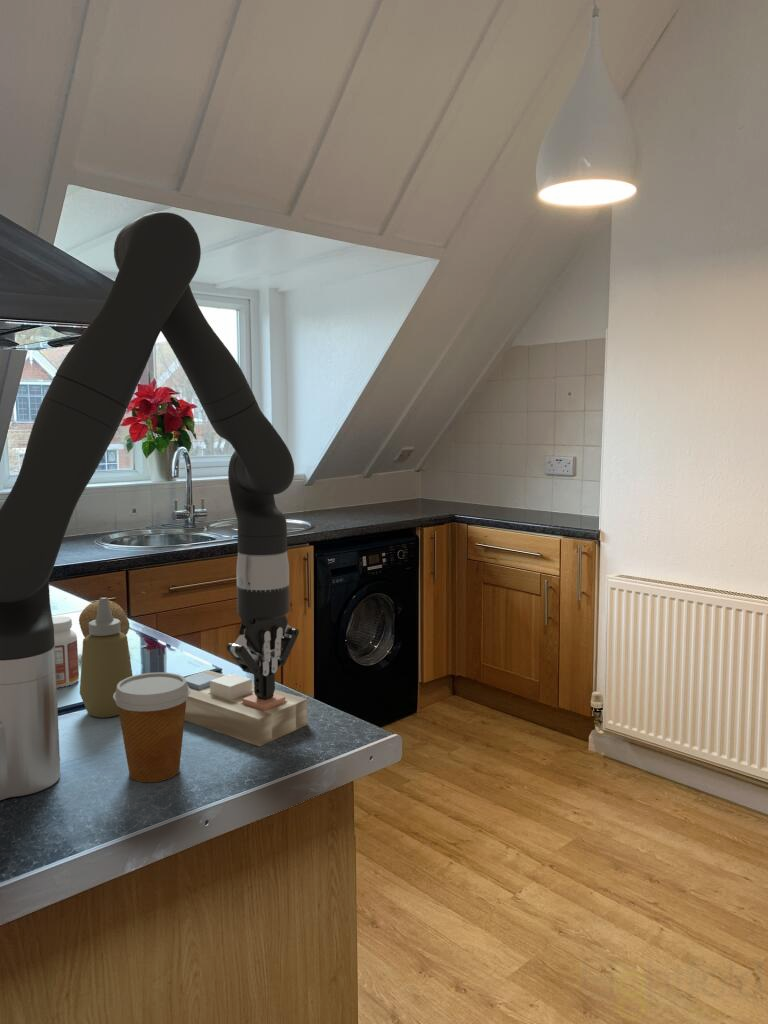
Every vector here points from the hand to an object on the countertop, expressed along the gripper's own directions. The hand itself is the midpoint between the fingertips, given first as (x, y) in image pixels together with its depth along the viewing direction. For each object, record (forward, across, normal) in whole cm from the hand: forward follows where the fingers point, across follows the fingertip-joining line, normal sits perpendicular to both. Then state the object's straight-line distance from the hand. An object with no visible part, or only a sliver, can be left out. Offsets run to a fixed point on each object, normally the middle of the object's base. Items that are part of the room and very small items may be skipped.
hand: (264, 697), depth 122 cm
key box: (+5, 0, +7) cm, 9 cm away
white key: (+2, 0, +7) cm, 7 cm away
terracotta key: (+3, 0, 0) cm, 3 cm away
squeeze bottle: (+5, -10, +24) cm, 27 cm away
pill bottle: (+5, -7, +42) cm, 43 cm away
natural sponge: (+5, +9, +52) cm, 53 cm away
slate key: (+3, 0, +14) cm, 14 cm away
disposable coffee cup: (+5, -19, +1) cm, 20 cm away
